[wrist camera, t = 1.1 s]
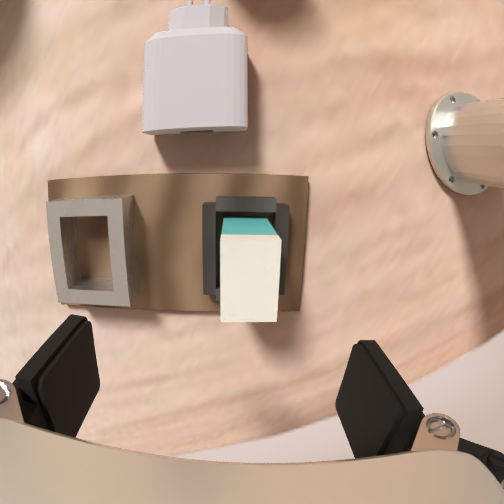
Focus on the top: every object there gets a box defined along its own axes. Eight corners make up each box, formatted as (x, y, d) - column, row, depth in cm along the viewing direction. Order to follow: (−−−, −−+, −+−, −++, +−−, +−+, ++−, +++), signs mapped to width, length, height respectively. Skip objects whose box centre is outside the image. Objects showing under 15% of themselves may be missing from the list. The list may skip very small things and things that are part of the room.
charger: (245, 1, 26) (245, 132, 30) (158, 6, 26) (152, 136, 30) (247, -20, 22) (248, 126, 26) (148, -13, 21) (139, 132, 25)
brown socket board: (306, 176, 31) (313, 177, 29) (297, 307, 35) (303, 319, 32) (52, 180, 30) (38, 182, 27) (64, 300, 33) (53, 311, 30)
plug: (265, 216, 31) (281, 240, 22) (263, 275, 33) (276, 321, 23) (223, 215, 31) (220, 239, 21) (223, 275, 33) (220, 321, 23)
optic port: (133, 194, 30) (122, 198, 26) (139, 292, 33) (130, 306, 29) (62, 197, 29) (46, 201, 26) (72, 289, 32) (58, 301, 29)
